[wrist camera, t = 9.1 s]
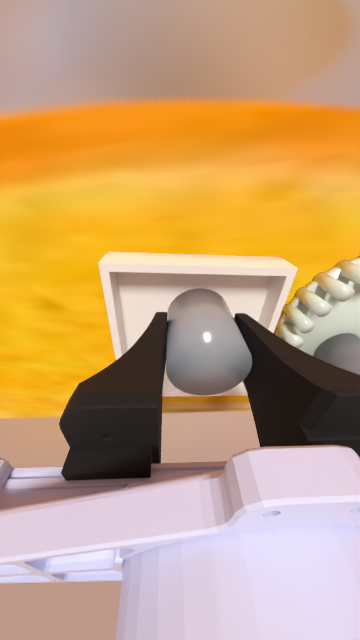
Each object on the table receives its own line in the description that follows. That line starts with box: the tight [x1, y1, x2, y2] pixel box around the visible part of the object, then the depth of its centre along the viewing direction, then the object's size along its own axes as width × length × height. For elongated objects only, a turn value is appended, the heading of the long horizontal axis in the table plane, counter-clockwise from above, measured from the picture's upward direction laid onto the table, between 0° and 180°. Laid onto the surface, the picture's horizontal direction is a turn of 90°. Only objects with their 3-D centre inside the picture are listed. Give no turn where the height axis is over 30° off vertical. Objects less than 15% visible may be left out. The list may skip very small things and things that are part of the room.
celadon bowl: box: [275, 256, 360, 356], centre depth 16 cm, size 12×12×3 cm
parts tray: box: [99, 252, 298, 397], centre depth 16 cm, size 12×12×2 cm
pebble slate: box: [166, 288, 252, 396], centre depth 11 cm, size 4×4×4 cm
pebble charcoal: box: [313, 333, 360, 375], centre depth 16 cm, size 4×4×4 cm
